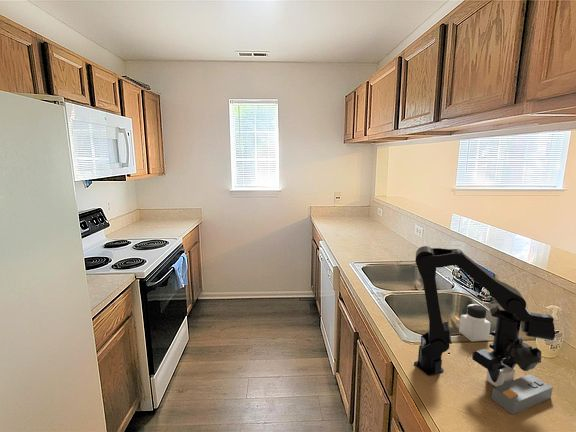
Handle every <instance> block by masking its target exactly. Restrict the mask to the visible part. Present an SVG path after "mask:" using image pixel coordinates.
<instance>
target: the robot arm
mask: <svg viewBox="0 0 576 432" xmlns="http://www.w3.org/2000/svg"><path fill="white" fill-rule="evenodd" d="M415 264H416V267H417V269H418V272H419V276H420V277H421V279H422V284H423V285H422V286H423V289H424V297H425V303H426V309H427V314H428V331H427V332H425V333H423V334H421V336H420V345H419V347H418V355H417V361H414V362H413V365H414V366H416V367H417V368H418V369H419V370H420V371H422V372H423V373H424V374H425V375H427V376H432V375H436V374H438V373H441V372H444V371H445V370H444V368H443V367H442V365H443V364H442V363H443V360H442V357H443V356H442V355H443V353H446V352H447V351H448V350H450V345H452V344H453V342H452V335H451V330H450V325H449V321H444V319H443V318H442V312H441V306H440V299H439V292H438V288H437V279H436V277H437V268H445V267H451V266H456V267H457V268H459V270H461V271H462V272H464V273H465V274H466V275H468V276H469V277H470V278H471V279H472V280H474V282H476V283H477V284H479V285H480V286H481V287H482V288H483V289H485V290H486V291H487V292H488V293H490V295H491V296H492V297H493V299H494V300H495V301H496V302H497V303H498V304H499V306H500V307H501V308H502V309H501V308H500V307H499V306H497V305H496V306H494V307H492V308H490V309H489V313H490V315H491V316H492V317H493V318H496V322H495V328H494V329H495V330H492V331H491V330H490V331H491V332H490V335H491V336H493V340H492V341H493V342H492V343H489V347H488V348H490V349H492V351H489V350H487V349H485V348H482V349H479V350H475V351H473V352H472V357H471V358H472V360H473V361H474V362H475V363H477V364H479V365H480V366H482V367H483V368H485V369H488V372H489V374H490V377H491V379H492V381H494V382H496V381H497V379H498V375H499V372H500V369H503V368H505V366H503V365H502V363H504V364H506V365H507V366H509V367H510V368H512V369H514V368H515V367H516V365H517V366H518V367H519V369H521V370H522V371H524V372H528V371H530V370H533V369H535V368H536V366H537V365H538V364H540V363H541V362H542V350H541V349H539V347H534V348H533V347H532V346H531V345H529V344H527V343H525V342H524V341H523V338H522V337H520V336H519V335H520V330H521V332H523V333H525V336H527V337H530V338H531V337H532V338H536V339H542V340H547V341H553V340H554V339H555V338H556V337H555V336H556V331H555V324H554V323H555V322H554V320H555V318H554V317H553V315H552V314H547V313H545V314H543V313H535V312H531V311H529V309H528V308H527V302H526V299H524V297H523V295H522V294H521V292H520V291H519V290H518V289H517V288H515V287H513V286H511V285H510V284H508V283H505V282H503V281H501V280H499V279H497V278H496V277H494V276H493V275H492V274H491V273H489V272H488V271H486V270H485V269H484V268H483V267H481V265H479V264H478V263H476V262H475V261H474V260H472V259H471V257H469V256H467V255H466V254H465V252H463V251H462V250H461V249H459V248H443V247H441V248H440V247H433V248H432V247H431V246H428V245H427V246H426V245H423V246H421V247H419V248H418V249H417V250H416V251H415Z"/></svg>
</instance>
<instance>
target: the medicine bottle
mask: <svg viewBox="0 0 576 432" xmlns="http://www.w3.org/2000/svg"><path fill="white" fill-rule="evenodd" d="M486 316H487V309H486V307H485V306H482V305H480V304H478V303H471V304H468V305H467V309H466V314H461V315H460V321H459V329H458V332H459V333H460V334H461V335H463V337H465V338H467V340H469V341H470V342H471V343H472V342H482V341H483V342H484V341H489V338H490V334H491V332H490V331H491V325H492V322H490V321H489V320H488V319H486V318H487V317H486Z"/></svg>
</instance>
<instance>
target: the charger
mask: <svg viewBox="0 0 576 432" xmlns="http://www.w3.org/2000/svg"><path fill="white" fill-rule="evenodd" d="M502 365H503V366H505V368H503V369H500V372H499V375H498V379H497V381H496V382H494V381H492V379H491V377H490V374H489V372H488V369H487V370H486V376H485V380H486V381H487V382H488V383H490V385H493V386H494V387H497V386H500V385H502V384H505V383H508V382H510V381H513V380H515V379H514V378H515V375H516V374H515V372H516V370H515V369H514V368H513V369H512V368H510V367H509V366H507V365H506V364H504V363H502Z"/></svg>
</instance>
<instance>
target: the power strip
mask: <svg viewBox="0 0 576 432" xmlns="http://www.w3.org/2000/svg"><path fill="white" fill-rule="evenodd" d="M552 393H553V386H551V385H550V384H549V383H546V382H544V381H543V380H541V379H540V378H538V377H536V376H534V375H533V374H531V373H530V374H527V375H524V376H521V377H518V378H516V379H514V380H513V381H510V382H508V383H505V384H502V385H500V386H497V387H496V386H494V387H492V393H491V400H492V401H493V402H495V403H496V404H497V405H498V406H500V407H501V408H503V409H504V410H506V411H507V412H508V413H510V414H511V415H515V414H517V413H520V412H523V411H525V410H527V409H529V408H531V407H533V406H536V405H538V404H541V403H543V402H545V401H547V400H550V399H551V398H552Z"/></svg>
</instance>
